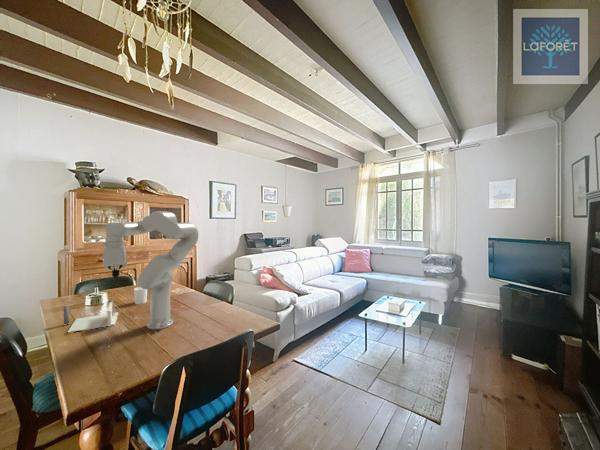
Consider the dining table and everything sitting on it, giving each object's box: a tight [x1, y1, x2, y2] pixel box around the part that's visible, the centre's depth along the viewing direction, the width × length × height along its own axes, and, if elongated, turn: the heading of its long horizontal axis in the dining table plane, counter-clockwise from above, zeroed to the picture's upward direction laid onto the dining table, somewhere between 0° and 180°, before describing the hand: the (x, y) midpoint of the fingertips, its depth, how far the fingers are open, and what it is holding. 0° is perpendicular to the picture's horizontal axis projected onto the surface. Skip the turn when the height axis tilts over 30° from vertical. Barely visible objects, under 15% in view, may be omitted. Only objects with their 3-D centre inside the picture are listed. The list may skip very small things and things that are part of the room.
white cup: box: [133, 286, 148, 305], centre depth 166 cm, size 8×8×10 cm
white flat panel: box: [107, 302, 112, 327], centre depth 133 cm, size 16×1×8 cm, turn 36°
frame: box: [63, 299, 119, 332], centre depth 132 cm, size 19×23×10 cm
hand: (116, 277), depth 136 cm, fingers closed
